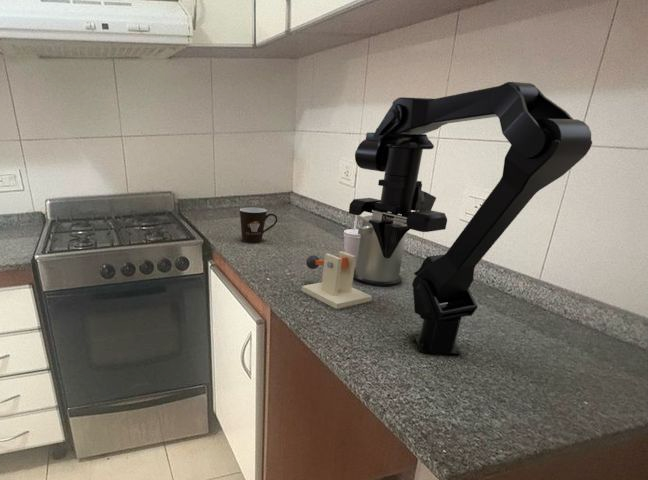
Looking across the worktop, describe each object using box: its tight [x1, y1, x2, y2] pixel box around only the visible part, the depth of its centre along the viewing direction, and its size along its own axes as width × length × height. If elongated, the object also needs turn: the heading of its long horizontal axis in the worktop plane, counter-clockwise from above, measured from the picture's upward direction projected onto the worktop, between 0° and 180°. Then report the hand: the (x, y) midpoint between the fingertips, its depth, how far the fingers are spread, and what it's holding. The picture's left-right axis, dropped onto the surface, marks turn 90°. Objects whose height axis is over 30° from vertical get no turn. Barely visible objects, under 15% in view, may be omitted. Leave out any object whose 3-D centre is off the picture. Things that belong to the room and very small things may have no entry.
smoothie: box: [342, 215, 361, 269], centre depth 117 cm, size 6×6×14 cm
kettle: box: [353, 214, 408, 288], centre depth 107 cm, size 16×12×16 cm
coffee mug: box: [239, 207, 278, 244], centre depth 142 cm, size 12×9×10 cm
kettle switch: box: [305, 254, 348, 270], centre depth 100 cm, size 12×3×3 cm, turn 29°
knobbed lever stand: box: [300, 251, 373, 310], centre depth 97 cm, size 12×10×10 cm
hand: (387, 257), depth 86 cm, fingers closed
